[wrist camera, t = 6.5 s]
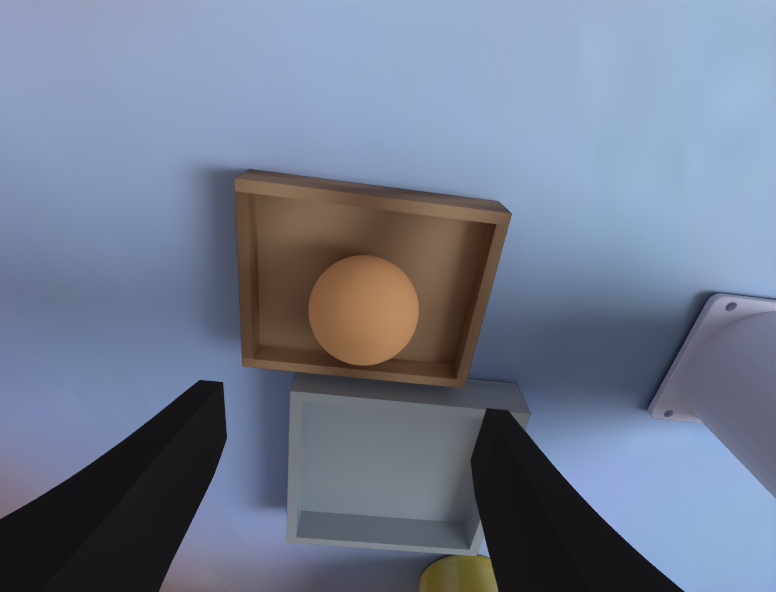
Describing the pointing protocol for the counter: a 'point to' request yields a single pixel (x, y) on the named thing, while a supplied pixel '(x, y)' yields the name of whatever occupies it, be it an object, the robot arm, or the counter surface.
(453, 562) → the plant pot
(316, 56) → the counter surface
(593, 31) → the counter surface
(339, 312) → the ball
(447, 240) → the tray
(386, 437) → the dish
